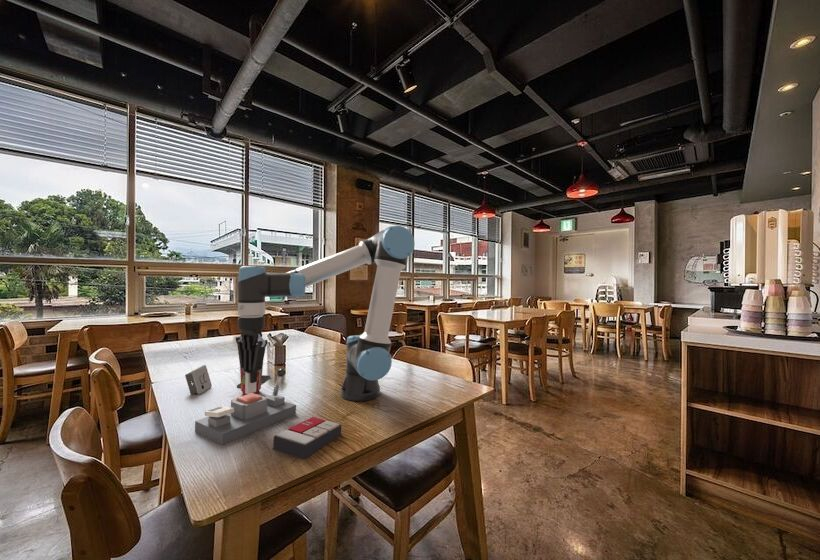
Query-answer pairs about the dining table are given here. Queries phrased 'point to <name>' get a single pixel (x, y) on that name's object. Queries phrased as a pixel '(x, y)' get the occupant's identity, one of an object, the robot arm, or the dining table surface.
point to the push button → (249, 398)
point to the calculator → (306, 437)
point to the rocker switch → (219, 411)
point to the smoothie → (258, 382)
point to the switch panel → (245, 419)
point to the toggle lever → (278, 381)
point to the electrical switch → (198, 380)
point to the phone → (264, 378)
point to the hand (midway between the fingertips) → (250, 392)
